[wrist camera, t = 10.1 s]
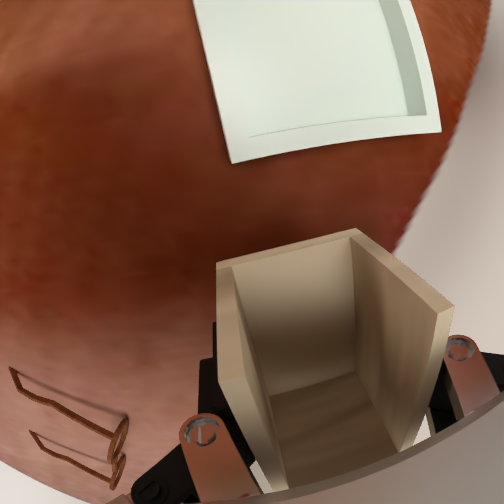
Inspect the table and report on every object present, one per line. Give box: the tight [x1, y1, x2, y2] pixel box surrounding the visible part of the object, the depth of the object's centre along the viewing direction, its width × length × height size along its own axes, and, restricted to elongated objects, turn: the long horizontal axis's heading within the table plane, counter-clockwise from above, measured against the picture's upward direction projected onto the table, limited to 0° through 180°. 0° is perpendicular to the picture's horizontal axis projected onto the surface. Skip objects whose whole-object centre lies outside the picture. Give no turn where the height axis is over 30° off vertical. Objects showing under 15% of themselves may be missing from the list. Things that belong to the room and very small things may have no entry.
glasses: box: [9, 367, 129, 490], centre depth 20 cm, size 13×13×5 cm
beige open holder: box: [216, 228, 454, 492], centre depth 9 cm, size 7×5×5 cm
